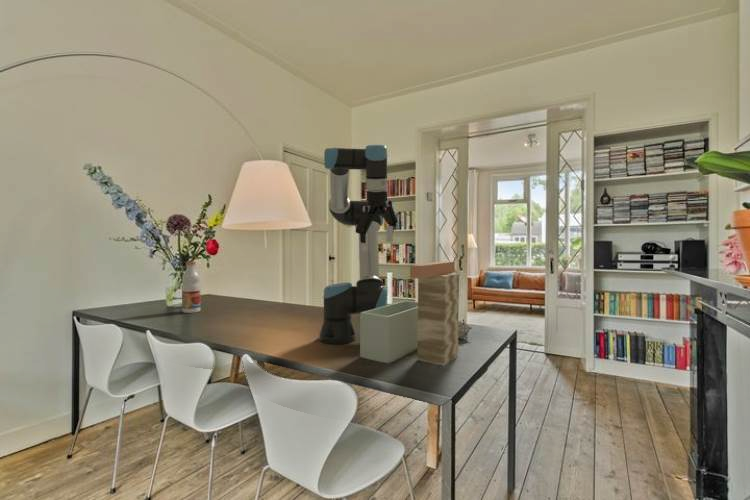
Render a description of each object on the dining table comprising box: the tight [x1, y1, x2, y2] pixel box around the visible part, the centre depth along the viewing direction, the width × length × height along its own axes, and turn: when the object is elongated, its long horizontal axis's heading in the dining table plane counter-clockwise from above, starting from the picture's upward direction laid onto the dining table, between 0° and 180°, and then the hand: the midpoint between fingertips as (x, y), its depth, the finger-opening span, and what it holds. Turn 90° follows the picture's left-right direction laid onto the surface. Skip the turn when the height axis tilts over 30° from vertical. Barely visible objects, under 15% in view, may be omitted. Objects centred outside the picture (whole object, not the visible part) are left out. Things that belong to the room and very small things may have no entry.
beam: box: [409, 260, 456, 279], centre depth 125 cm, size 26×4×4 cm, turn 145°
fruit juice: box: [181, 261, 202, 314], centre depth 205 cm, size 9×9×28 cm
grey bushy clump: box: [458, 318, 473, 340], centre depth 154 cm, size 9×8×10 cm
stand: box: [416, 272, 460, 367], centre depth 128 cm, size 12×10×30 cm
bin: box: [359, 300, 418, 365], centre depth 138 cm, size 31×12×16 cm, turn 145°
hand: (377, 246), depth 136 cm, fingers open, 13 cm apart
